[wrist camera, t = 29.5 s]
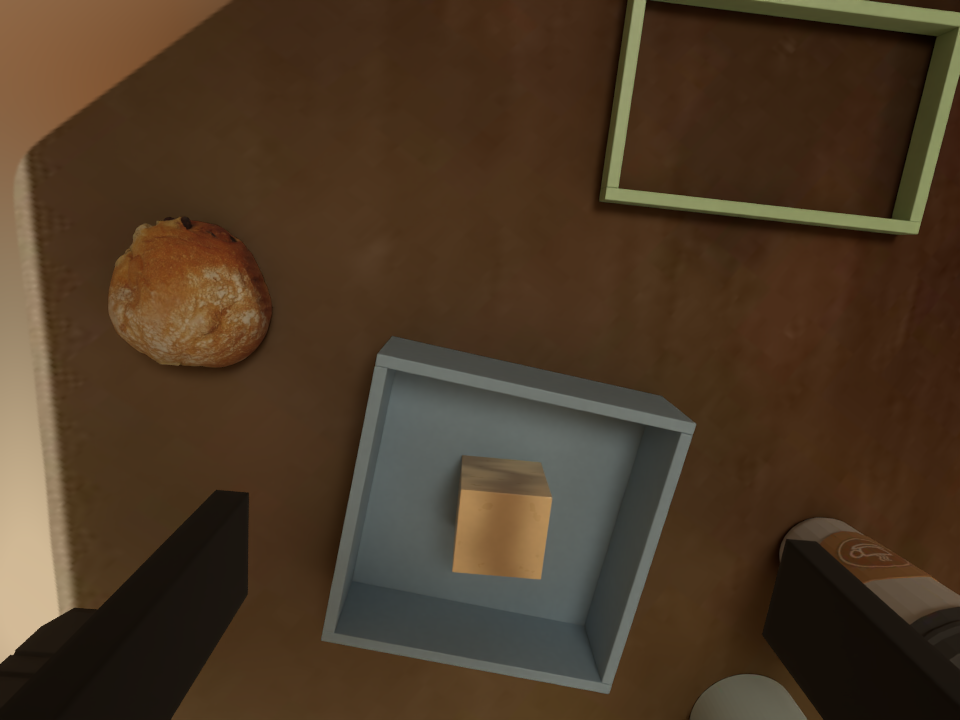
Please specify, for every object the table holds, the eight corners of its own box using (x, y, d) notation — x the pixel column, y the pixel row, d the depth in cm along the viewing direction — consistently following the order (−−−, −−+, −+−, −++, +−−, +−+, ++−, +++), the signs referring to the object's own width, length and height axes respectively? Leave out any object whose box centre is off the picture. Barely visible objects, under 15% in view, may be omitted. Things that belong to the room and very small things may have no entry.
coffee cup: (871, 499, 44) (1075, 629, 29) (862, 593, 45) (1050, 761, 31) (766, 505, 44) (916, 639, 29) (760, 600, 45) (899, 771, 31)
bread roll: (168, 334, 43) (119, 402, 37) (109, 208, 37) (39, 264, 31) (294, 326, 44) (267, 393, 37) (257, 200, 37) (217, 254, 31)
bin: (391, 335, 40) (377, 353, 34) (662, 396, 42) (696, 423, 35) (341, 583, 44) (320, 641, 38) (589, 631, 46) (609, 694, 39)
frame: (598, 201, 39) (604, 199, 37) (629, -16, 36) (638, -30, 34) (898, 234, 39) (918, 234, 38) (951, 25, 37) (975, 14, 35)
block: (454, 527, 43) (452, 572, 37) (462, 454, 42) (460, 489, 36) (531, 534, 43) (540, 580, 37) (541, 461, 42) (552, 497, 36)
